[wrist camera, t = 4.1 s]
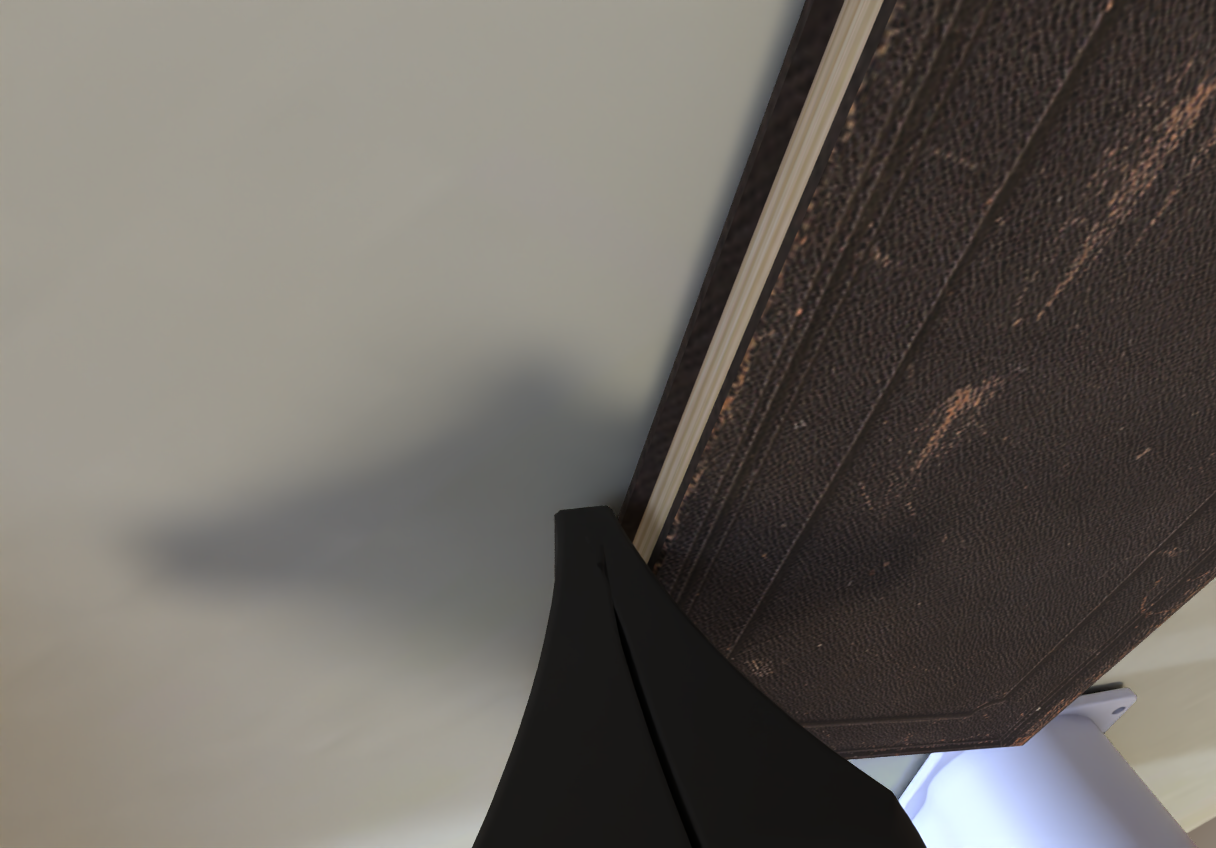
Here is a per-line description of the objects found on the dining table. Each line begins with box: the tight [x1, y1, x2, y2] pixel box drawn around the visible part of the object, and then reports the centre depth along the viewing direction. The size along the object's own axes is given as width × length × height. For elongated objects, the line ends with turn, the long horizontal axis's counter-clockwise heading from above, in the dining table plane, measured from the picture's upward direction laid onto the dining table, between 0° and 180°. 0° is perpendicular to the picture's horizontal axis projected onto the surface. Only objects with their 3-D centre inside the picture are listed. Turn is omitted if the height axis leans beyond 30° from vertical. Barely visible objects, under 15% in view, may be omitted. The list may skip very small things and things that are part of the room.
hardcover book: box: [618, 0, 1216, 760], centre depth 13 cm, size 16×23×2 cm
